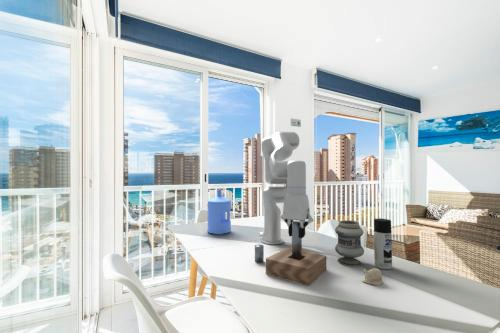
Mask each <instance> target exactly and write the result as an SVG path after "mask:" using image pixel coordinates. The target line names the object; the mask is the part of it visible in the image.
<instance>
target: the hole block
mask: <svg viewBox="0 0 500 333" xmlns="http://www.w3.org/2000/svg"><path fill="white" fill-rule="evenodd" d="M326 271H327V255H325V254H321V253H315V252H312V251H306V250H302V258H300V259H295V258H292V247H285V248H284V249H282V250H279V251H278V252H275V253H274V254H272V255H270V256H268V257H266V258H265V274H266V275H269V276H272V277H276V278H279V279H283V280H286V281H290V282H293V283H297V284H300V285H304V286H307V287H309V286H310V285H311V284H313V283H314V282H315V281H316V280H317V279H318V278H319V277H320V276H321V275H323V274H324V273H326Z"/></svg>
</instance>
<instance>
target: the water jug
mask: <svg viewBox="0 0 500 333" xmlns="http://www.w3.org/2000/svg"><path fill="white" fill-rule="evenodd" d="M216 191H217V192H216V196H214V197H212V198H211V199H209V200H207V218H206V219H207V230H206V231H207V233H208V232H209V234H210V233H215V234H214V235H224V234H223V233H227V234H229V233H231V231H232V226H231V225H232V222H231V221H232V220H231V210H232V202H231V199H228V198H227V197H224V196H223V195H222V193H223V192H222V189H216ZM226 213H227V214H226ZM226 218H227V219H226ZM228 232H229V233H228Z"/></svg>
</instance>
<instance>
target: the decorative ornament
mask: <svg viewBox="0 0 500 333" xmlns="http://www.w3.org/2000/svg"><path fill="white" fill-rule="evenodd" d="M363 272H364V273H365V275H364V279H363V281H362V282H363V283H367V284H369V285H373V286H381V285H382V284H383V282H384V281H383V273H382V272H381V270H380V268H371V269H369V270H367V269H363Z"/></svg>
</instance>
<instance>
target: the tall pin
mask: <svg viewBox="0 0 500 333" xmlns="http://www.w3.org/2000/svg"><path fill="white" fill-rule="evenodd" d="M300 228H301V225H300V221H299V220H293V221H292V236H291V248H292V258H295V259H300V258H302V251H303V250H302V248H303V246H302V243H303V238H300V237H299V229H300Z"/></svg>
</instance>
